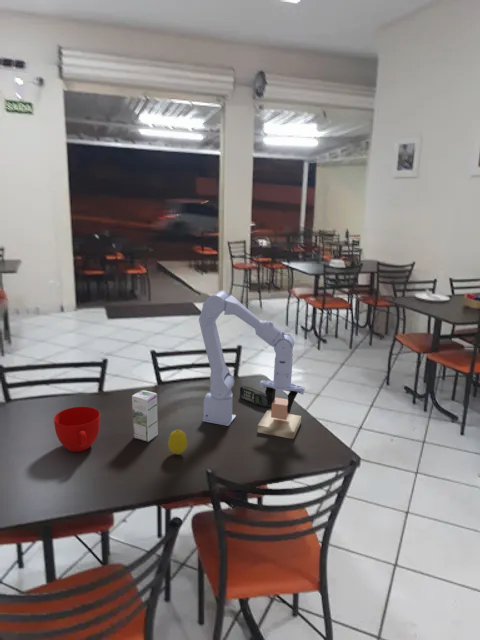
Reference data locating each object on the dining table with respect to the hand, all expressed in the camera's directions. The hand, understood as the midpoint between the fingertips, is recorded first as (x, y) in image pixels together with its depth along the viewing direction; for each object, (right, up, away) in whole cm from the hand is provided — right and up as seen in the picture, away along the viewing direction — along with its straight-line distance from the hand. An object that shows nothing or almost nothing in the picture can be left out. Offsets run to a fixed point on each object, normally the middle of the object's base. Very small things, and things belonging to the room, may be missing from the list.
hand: (280, 410), depth 157 cm
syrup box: (-43, -7, -7) cm, 44 cm away
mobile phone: (-7, -1, +20) cm, 21 cm away
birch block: (0, -6, +2) cm, 7 cm away
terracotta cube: (0, -2, 0) cm, 2 cm away
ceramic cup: (-61, -9, -16) cm, 64 cm away
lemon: (-32, -10, -17) cm, 37 cm away
